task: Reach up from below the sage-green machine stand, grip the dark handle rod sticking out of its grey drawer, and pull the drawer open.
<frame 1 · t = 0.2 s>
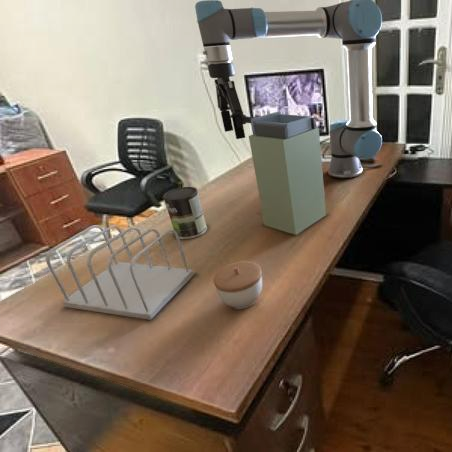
hand: (234, 134, 114), 28 cm above the table, tool pointing down, fingers open, 13 cm apart
file sorter: (133, 291, 90), on the table
machine stand: (295, 220, 119), on the table
grey drawer: (267, 122, 108), point 32 cm above the table, slide at 0.0 cm
trinket box: (243, 300, 84), on the table
coffee can: (191, 232, 117), on the table
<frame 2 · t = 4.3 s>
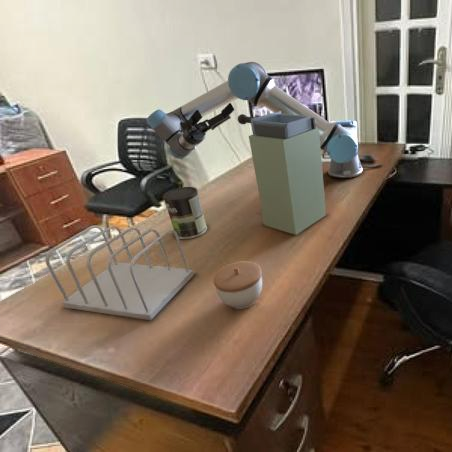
hand: (216, 109, 120), 35 cm above the table, tool pointing upward, fingers open, 13 cm apart
nothing on the table moved.
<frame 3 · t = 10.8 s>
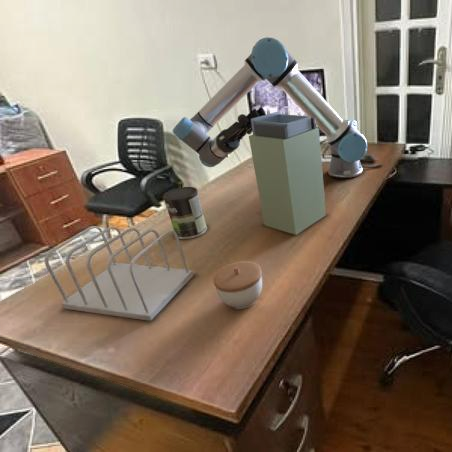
hand: (260, 112, 108), 35 cm above the table, tool pointing upward, fingers closed on grey drawer, 2 cm apart
grey drawer: (267, 122, 108), point 32 cm above the table, slide at 0.0 cm, touching gripper
everything else where it was.
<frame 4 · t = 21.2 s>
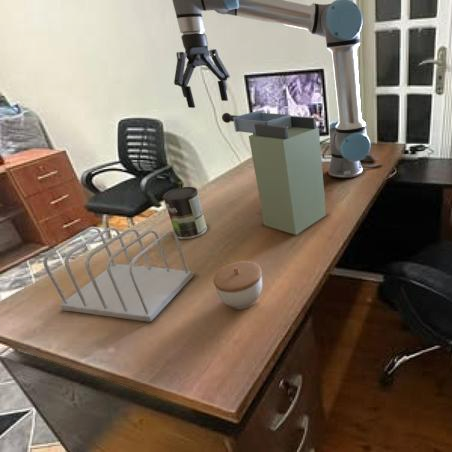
hand: (209, 104, 120), 37 cm above the table, tool pointing down, fingers open, 13 cm apart
grey drawer: (250, 120, 112), point 32 cm above the table, slide at 8.0 cm
everything else where it was.
at the end: grey drawer slide at 8.0 cm; trinket box moved 0.2 cm from its start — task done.
